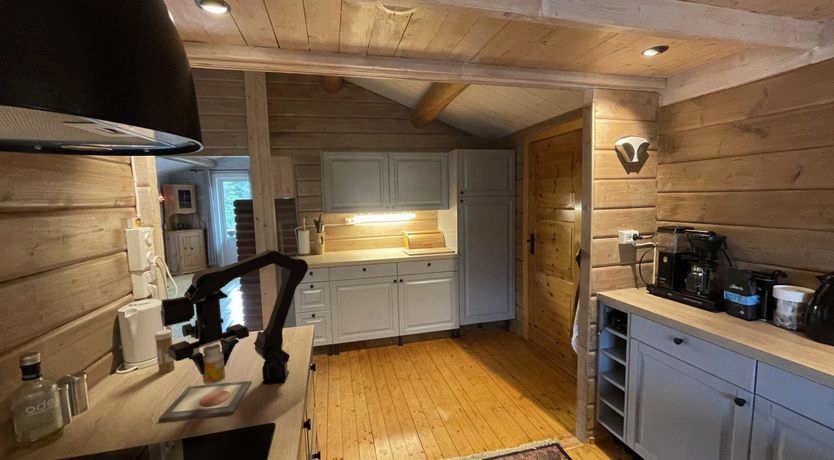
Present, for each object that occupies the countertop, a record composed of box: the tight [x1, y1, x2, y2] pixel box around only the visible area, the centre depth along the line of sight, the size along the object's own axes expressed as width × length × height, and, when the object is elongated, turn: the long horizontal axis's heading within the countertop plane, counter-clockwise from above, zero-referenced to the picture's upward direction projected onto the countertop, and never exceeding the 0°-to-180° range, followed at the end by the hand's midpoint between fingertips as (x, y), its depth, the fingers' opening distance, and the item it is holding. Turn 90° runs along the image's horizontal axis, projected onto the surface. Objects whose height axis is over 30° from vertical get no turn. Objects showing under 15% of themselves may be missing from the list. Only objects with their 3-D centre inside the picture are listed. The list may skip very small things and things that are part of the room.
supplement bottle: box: [202, 343, 226, 385], centre depth 95 cm, size 5×5×10 cm
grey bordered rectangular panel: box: [158, 380, 253, 422], centre depth 97 cm, size 18×15×1 cm
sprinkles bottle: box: [154, 329, 176, 374], centre depth 113 cm, size 5×5×13 cm
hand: (213, 370), depth 95 cm, fingers closed on supplement bottle, 5 cm apart
